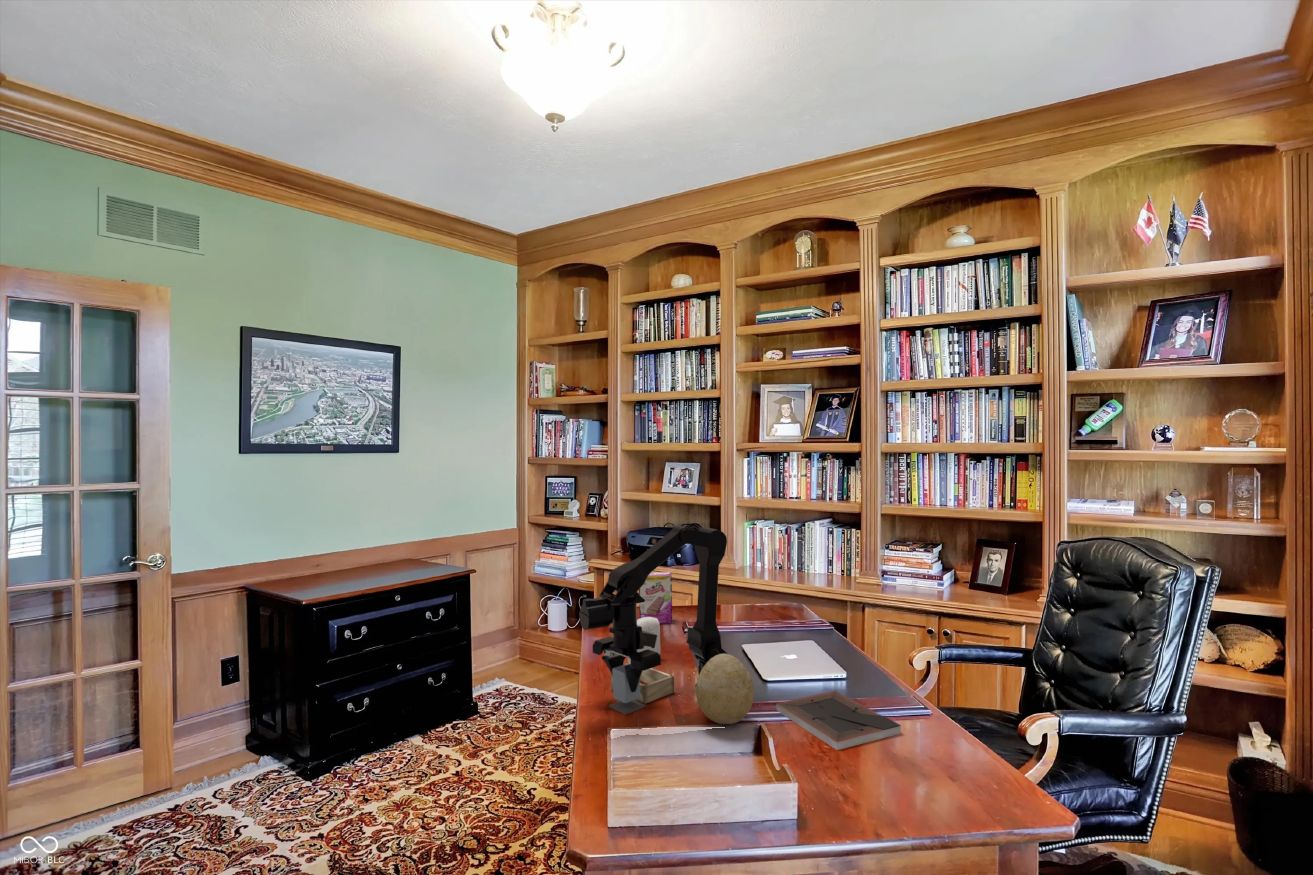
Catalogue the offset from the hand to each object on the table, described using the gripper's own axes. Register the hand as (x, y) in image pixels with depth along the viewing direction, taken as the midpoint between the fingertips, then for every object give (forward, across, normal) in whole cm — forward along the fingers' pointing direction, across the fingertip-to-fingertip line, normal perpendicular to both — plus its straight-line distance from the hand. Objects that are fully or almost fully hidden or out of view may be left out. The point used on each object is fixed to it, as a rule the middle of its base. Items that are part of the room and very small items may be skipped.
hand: (626, 689), depth 161 cm
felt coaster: (+4, 0, 0) cm, 4 cm away
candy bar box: (+4, +46, -51) cm, 69 cm away
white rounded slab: (+4, +20, -23) cm, 31 cm away
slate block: (+2, 0, 0) cm, 2 cm away
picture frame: (+5, -39, -27) cm, 48 cm away
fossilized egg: (+4, -22, -10) cm, 25 cm away
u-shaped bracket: (+4, +5, -9) cm, 11 cm away
